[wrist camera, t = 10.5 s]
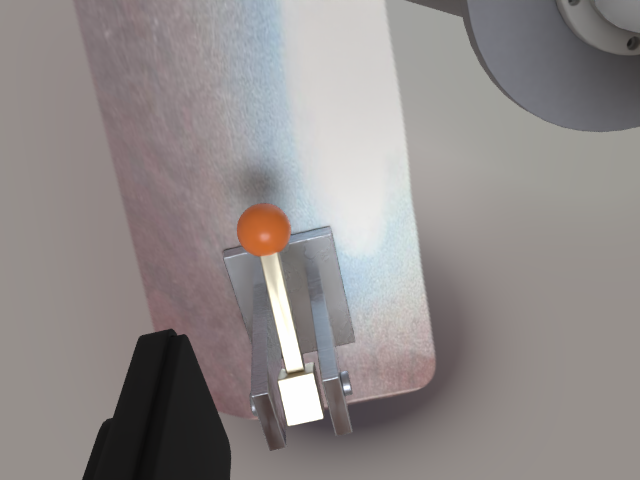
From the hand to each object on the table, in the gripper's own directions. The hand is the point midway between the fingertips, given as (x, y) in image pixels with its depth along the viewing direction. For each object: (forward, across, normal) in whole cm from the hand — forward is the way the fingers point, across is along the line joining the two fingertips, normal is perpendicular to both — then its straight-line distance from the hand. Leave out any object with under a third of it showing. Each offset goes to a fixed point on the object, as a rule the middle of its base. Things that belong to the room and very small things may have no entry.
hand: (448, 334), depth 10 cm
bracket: (+28, +5, +16) cm, 33 cm away
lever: (+21, +5, +12) cm, 25 cm away
